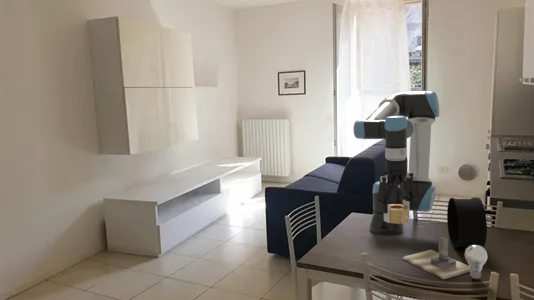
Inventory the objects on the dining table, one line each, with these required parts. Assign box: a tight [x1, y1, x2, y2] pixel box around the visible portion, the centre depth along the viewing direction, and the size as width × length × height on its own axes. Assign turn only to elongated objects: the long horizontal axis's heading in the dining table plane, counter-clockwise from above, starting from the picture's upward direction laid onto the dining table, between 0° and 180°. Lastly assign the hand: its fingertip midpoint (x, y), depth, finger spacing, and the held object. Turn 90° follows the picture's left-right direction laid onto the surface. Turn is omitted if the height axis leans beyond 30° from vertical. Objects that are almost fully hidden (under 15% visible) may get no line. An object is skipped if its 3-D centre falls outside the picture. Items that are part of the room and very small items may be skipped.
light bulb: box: [464, 245, 488, 280], centre depth 142 cm, size 7×7×12 cm
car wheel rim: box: [446, 197, 488, 248], centre depth 170 cm, size 20×10×20 cm, turn 168°
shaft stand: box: [402, 236, 470, 280], centre depth 155 cm, size 20×14×11 cm
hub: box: [389, 204, 409, 224], centre depth 155 cm, size 8×8×5 cm
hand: (396, 219), depth 156 cm, fingers closed on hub, 8 cm apart
